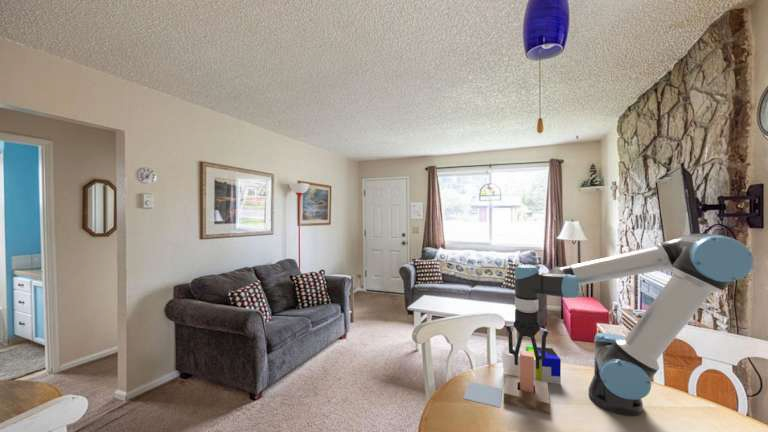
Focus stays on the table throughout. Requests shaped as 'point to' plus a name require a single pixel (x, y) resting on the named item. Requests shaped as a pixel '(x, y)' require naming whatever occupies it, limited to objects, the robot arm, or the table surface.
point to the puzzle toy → (548, 366)
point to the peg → (526, 371)
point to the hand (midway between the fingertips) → (526, 375)
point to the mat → (483, 394)
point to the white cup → (509, 362)
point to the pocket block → (527, 395)
